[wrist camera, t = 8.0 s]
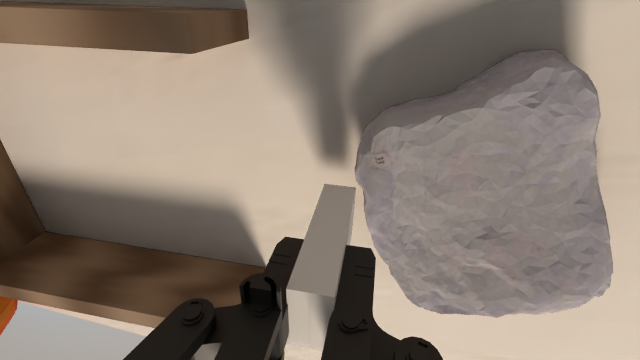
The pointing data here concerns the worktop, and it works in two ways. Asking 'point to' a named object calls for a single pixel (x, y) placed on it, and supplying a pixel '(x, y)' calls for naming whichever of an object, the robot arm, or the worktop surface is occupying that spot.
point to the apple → (6, 311)
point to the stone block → (491, 191)
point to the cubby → (92, 255)
